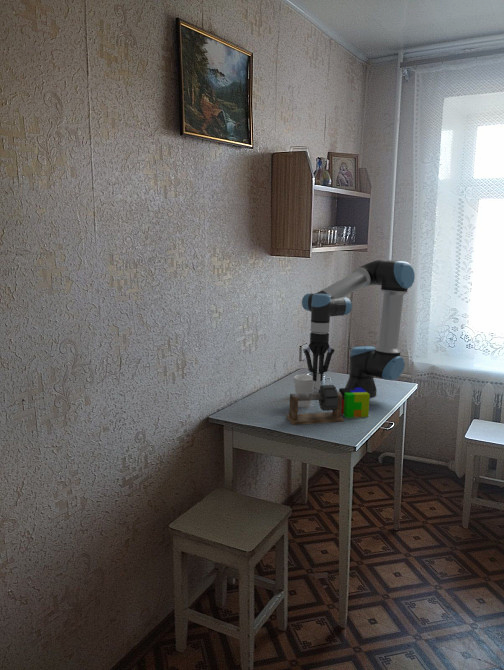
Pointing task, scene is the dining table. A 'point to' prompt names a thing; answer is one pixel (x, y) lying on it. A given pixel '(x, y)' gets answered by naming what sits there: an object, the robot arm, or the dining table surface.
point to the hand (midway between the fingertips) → (317, 388)
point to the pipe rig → (313, 417)
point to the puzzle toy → (355, 402)
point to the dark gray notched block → (328, 397)
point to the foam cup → (304, 387)
